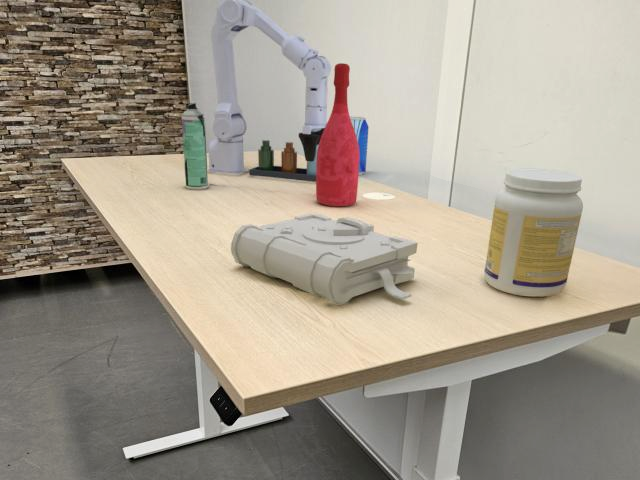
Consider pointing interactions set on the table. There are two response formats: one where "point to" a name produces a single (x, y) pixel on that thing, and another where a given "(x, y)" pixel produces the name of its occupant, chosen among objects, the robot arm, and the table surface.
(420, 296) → the table surface
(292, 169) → the bottle row
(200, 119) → the spray can
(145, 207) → the table surface
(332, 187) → the wine bottle
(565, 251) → the supplement tub
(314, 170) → the blue bottle
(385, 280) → the book
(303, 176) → the tray
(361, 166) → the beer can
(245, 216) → the table surface
